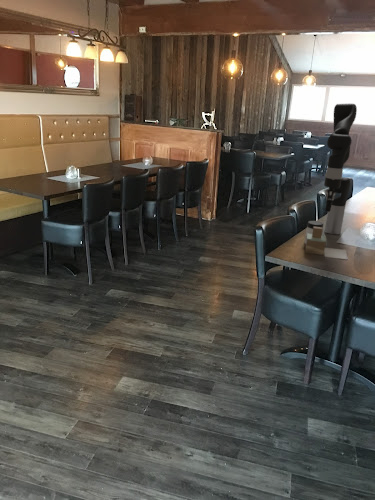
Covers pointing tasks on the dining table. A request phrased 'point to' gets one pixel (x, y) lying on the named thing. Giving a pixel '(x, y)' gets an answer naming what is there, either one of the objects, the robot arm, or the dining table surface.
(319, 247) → the box
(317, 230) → the lid
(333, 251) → the mat
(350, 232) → the dining table surface
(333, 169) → the robot arm
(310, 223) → the jar
